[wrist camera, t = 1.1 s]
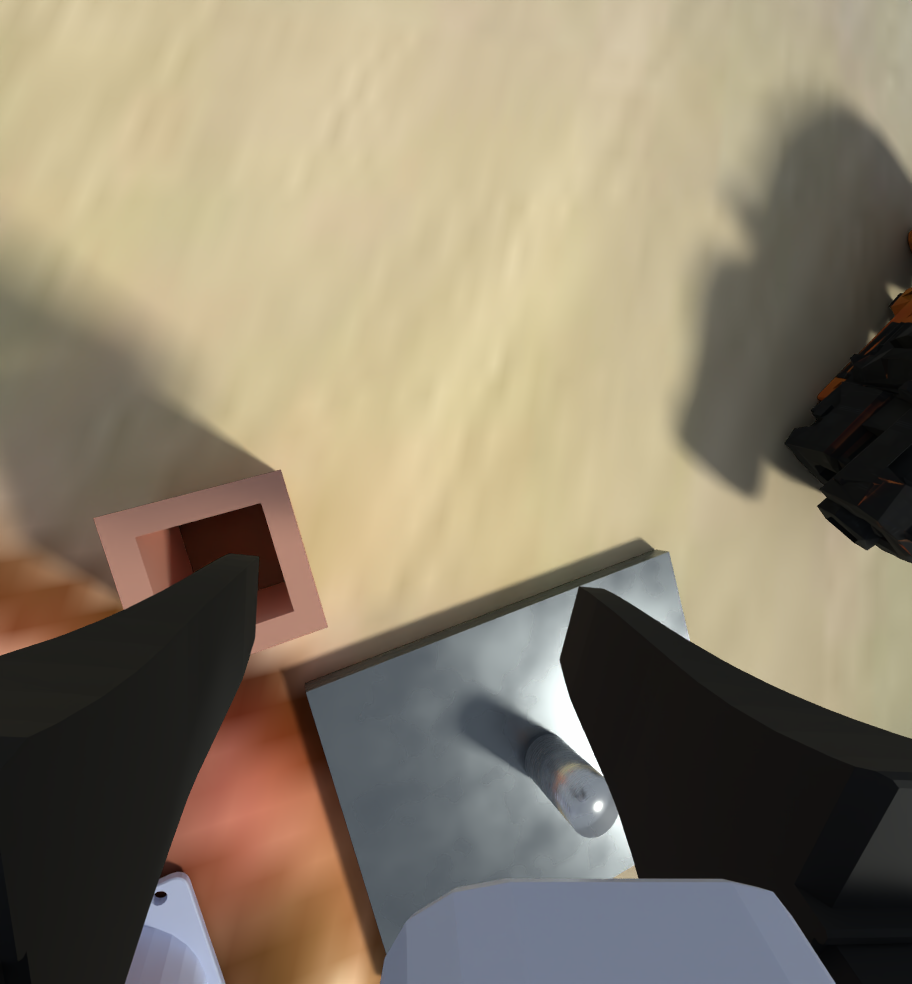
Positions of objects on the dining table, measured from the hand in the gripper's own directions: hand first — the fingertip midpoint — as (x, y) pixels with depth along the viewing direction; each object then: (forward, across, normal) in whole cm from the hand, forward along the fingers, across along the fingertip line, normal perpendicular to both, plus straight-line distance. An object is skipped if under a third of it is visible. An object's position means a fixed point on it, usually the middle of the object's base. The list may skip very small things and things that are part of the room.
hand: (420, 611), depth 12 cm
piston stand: (+9, -8, +12) cm, 17 cm away
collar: (+10, +6, +4) cm, 12 cm away
